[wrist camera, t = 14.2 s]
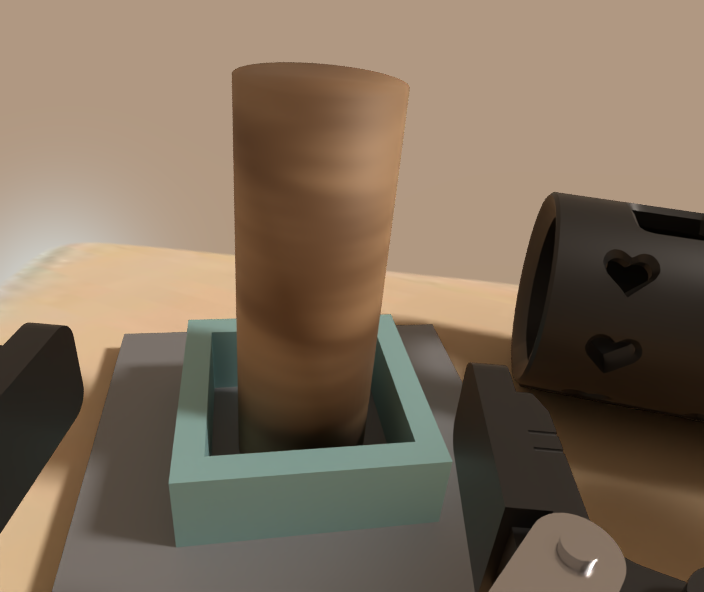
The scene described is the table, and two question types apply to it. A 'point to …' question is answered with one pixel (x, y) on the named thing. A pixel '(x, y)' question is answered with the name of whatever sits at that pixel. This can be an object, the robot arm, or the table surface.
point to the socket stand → (267, 480)
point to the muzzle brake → (613, 305)
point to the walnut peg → (311, 246)
